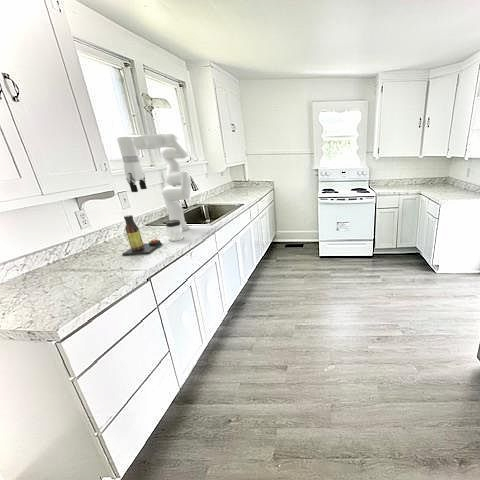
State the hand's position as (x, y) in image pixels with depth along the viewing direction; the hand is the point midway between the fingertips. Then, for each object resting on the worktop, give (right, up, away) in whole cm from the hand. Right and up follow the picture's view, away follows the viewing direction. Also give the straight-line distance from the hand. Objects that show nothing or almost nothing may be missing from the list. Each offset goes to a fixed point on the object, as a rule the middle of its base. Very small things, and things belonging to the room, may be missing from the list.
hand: (139, 190), depth 151 cm
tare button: (+4, -30, +8) cm, 31 cm away
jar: (+10, -28, +21) cm, 37 cm away
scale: (0, -35, +3) cm, 35 cm away
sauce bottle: (-2, -34, +1) cm, 34 cm away
